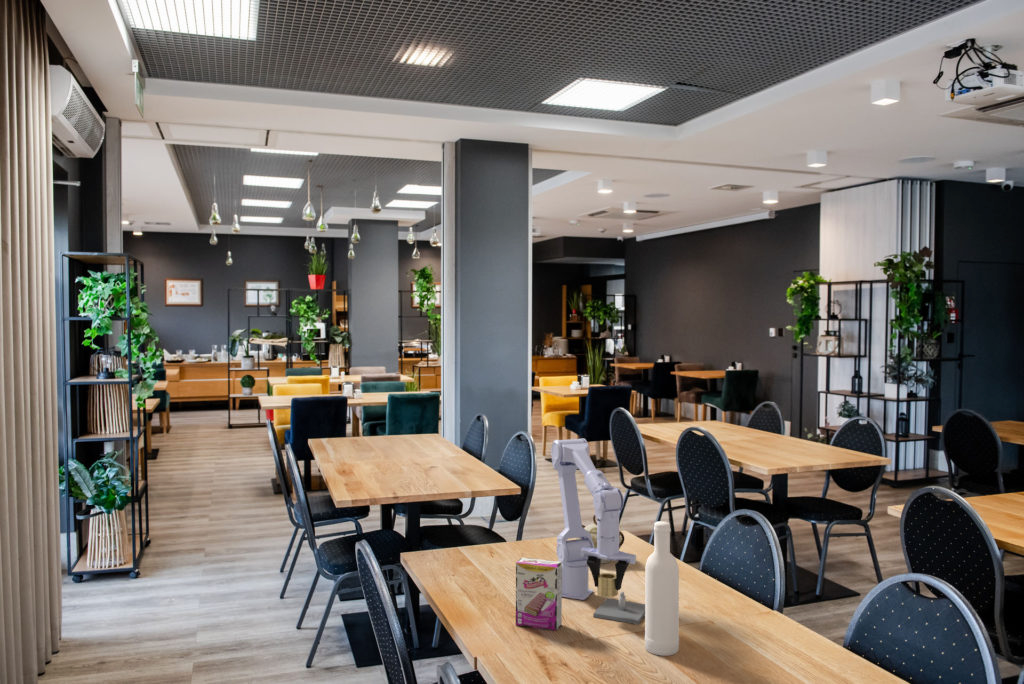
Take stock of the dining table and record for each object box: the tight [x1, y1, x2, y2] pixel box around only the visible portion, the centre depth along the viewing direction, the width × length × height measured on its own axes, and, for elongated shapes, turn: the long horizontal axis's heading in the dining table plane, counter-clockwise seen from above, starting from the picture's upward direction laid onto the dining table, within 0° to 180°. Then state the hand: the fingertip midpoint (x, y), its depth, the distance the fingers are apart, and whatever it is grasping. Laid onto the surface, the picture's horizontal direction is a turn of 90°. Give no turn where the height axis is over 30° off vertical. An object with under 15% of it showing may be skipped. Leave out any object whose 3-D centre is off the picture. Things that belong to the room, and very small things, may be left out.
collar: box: [596, 572, 619, 598], centre depth 195 cm, size 5×5×4 cm
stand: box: [592, 591, 645, 625], centre depth 199 cm, size 12×12×6 cm
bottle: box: [644, 520, 680, 657], centre depth 177 cm, size 8×8×30 cm
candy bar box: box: [515, 557, 563, 632], centre depth 191 cm, size 11×5×16 cm, turn 71°
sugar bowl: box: [575, 514, 625, 564], centre depth 245 cm, size 20×15×15 cm
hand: (607, 587), depth 195 cm, fingers closed on collar, 5 cm apart
